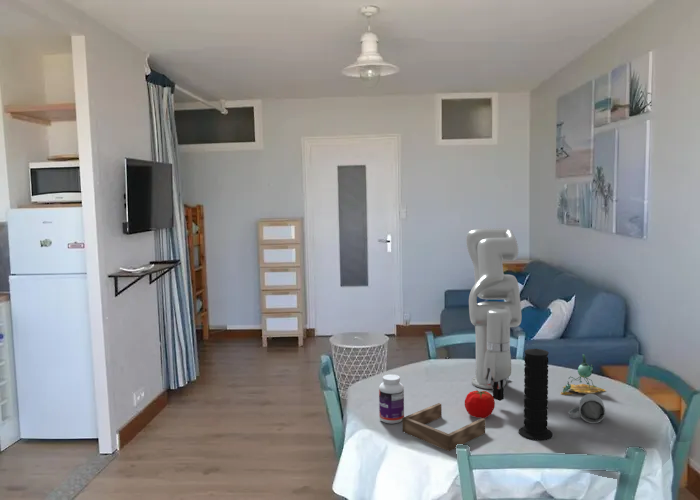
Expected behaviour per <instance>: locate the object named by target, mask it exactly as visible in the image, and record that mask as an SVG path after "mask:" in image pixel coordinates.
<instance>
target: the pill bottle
mask: <svg viewBox="0 0 700 500" xmlns="http://www.w3.org/2000/svg"><path fill="white" fill-rule="evenodd" d="M404 388H405V387H404V385H403V383H401V377H400V376H399V375H398V374H385V375H383V376H382V382H381V383H380V385H379V386H378V398H379V399H378V407H379V408H378V409H379V413H378V414H379V420H380V421H381V422H383V423H385V424H391V425H394V424H398V423H402V418H403V417H405V389H404Z"/></svg>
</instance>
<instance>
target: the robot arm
mask: <svg viewBox="0 0 700 500" xmlns="http://www.w3.org/2000/svg"><path fill="white" fill-rule="evenodd" d="M465 239H466V247H467V248H466V249H467V252H468V255H469V258H470V259H471V261H472V265H473V274H474V285H472V288H471V290H470V293H469V296H468V312H469V321H470V323H471V324H472V325H473V326H474V331H475V376H474V377H473V378H471V384H472V386H474V387H476V388H479V389H485V390H492V396H493V397H494V400H495V401H496V400H497V401H503V400H504V398H505V397H504V395H505V393H504V392H505V386H506V383H507V381H508V380H509V377H510V376H511V375H512V355H511V328H516V327H519V326H520V325H521V323H522V318H523V317H522V315H523V314H522V305H521V295H520V288H519V282H518V280H517V278H516V276H515V275H513V274H505V273H504V268H503V267H504V266H503V261H515V260H517V258H518V256H519V245H518V244H519V243H518V241H517V239H516V237H515V234H514V232H513V230H511V229H510V228H504V227H503V228H475V229H472V230H470V231H468V232H467V234H466V238H465ZM478 298H479V299H482V300H497V301H480V302H478V301H477V299H478ZM498 300H505V301H498Z"/></svg>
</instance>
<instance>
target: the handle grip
mask: <svg viewBox="0 0 700 500" xmlns="http://www.w3.org/2000/svg"><path fill="white" fill-rule="evenodd" d="M548 355H549V351H548V350H546V349H545V350H544V349H541V348H527V349H525V350H524V358H523V359H524V365H523V366H524V369H523V370H524V371H523V372H524V379H523V380H524V381H523V382H524V383H523V386H524V390H523V393H524V395H523V397H524V399H523V403H524V404H523V405H524V406H523V407H524V408H523V413H524V414H523V417H524V419H523V426H521V427H520V428H519V429H518V432H517V433H518V435H520V436H521V438H523V439H524V438H525V439H526V440H530V441H536V442H537V441H539V442H541V441H548V440H551V439H552V438H553V436H554V435H553V432H552V431H551V430H550V429H549V428H548V414H549V411H548V409H549V407H548V403H549V401H548V399H549V396H548V394H549V390H548V389H549V386H548V384H549V376H548V375H549V357H548Z"/></svg>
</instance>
